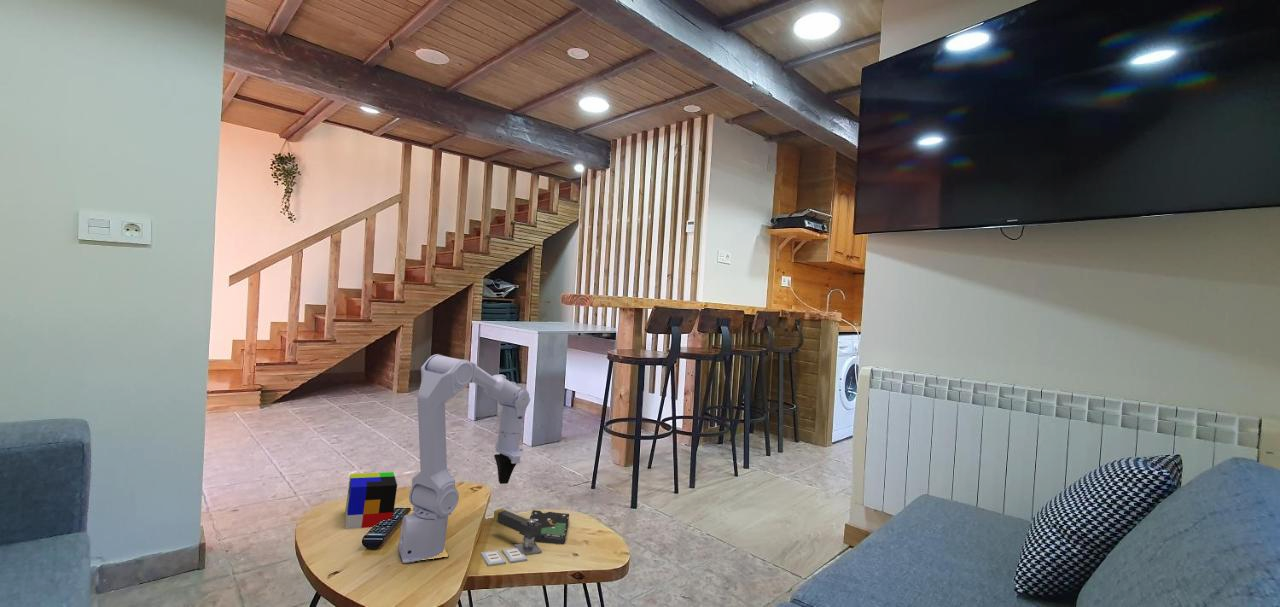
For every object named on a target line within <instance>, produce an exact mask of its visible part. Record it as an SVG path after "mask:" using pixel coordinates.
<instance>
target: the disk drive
mask: <svg viewBox="0 0 1280 607" xmlns="http://www.w3.org/2000/svg"><path fill="white" fill-rule="evenodd" d="M529 519H535V521H536V522H538V523H541V524H542V528H541V534H540V535H537V536H535V538H534V542H535V543H543V544H554V545H563V546H564V545H565V542H566V536H567V531H568V526H569V520H570V514H569V513H566V512H565V513H563V512H562V513H561V512H553V511H548V512H542V511H541V510H536V509H533V510H532V511H531V513H530V517H529ZM523 542H524V539H523Z"/></svg>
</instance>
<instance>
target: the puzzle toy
mask: <svg viewBox="0 0 1280 607" xmlns="http://www.w3.org/2000/svg"><path fill="white" fill-rule="evenodd" d="M397 488H398V484H397V479H396V476H395V472H394V471H392V472H390V471H389V472H363V473H350V474H349V481H348V488H347V497H346V502H345V508H344V509H345V511H344V521H345V525H344V526H345V528H344V529H345V530H351V529H352V530H353V529H366V528H374V527H373V526H374V525H376V524H377V523H379V522H380V521H383V520H388V519H394V511H395V506H396V505H395V504H396V497H397V490H398V489H397Z"/></svg>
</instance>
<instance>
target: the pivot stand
mask: <svg viewBox="0 0 1280 607" xmlns="http://www.w3.org/2000/svg"><path fill="white" fill-rule="evenodd" d="M527 519H528V523H529V525H531V526H532V525H533V524H534V523H535V519H530V518H527ZM534 538H535V537H532V538H528V537H526V536H524V535H523V540H524V541H523V543H517V544H516V543H515V544H513V546H514V547H513V548H517V549H518V550H519V551H520V553H521V554H524V555H525V556H531V555H537V554H542V553H543V550H542V549H541V548H540V547H539V546H538V545H537V542H534Z"/></svg>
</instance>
